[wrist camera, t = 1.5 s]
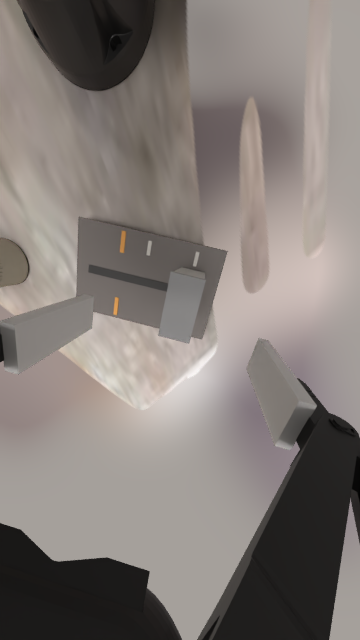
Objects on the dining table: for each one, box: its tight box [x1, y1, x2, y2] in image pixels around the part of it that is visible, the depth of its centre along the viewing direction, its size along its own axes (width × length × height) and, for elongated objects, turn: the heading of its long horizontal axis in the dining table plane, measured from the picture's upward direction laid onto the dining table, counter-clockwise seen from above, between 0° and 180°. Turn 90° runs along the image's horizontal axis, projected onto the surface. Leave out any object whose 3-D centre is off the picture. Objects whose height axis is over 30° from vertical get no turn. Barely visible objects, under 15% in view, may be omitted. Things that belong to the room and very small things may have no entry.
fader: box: [158, 267, 206, 343], centre depth 24 cm, size 4×7×9 cm, turn 168°
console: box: [76, 217, 227, 339], centre depth 31 cm, size 22×14×3 cm, turn 78°
